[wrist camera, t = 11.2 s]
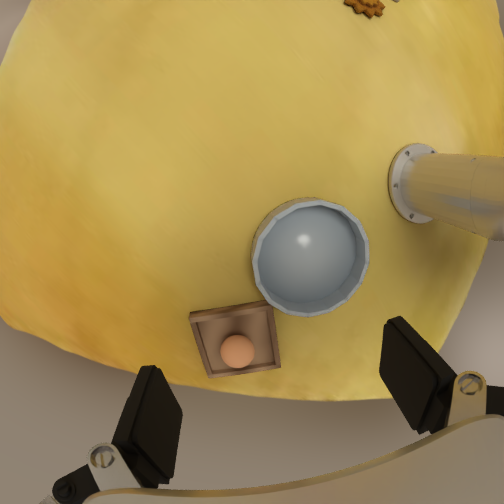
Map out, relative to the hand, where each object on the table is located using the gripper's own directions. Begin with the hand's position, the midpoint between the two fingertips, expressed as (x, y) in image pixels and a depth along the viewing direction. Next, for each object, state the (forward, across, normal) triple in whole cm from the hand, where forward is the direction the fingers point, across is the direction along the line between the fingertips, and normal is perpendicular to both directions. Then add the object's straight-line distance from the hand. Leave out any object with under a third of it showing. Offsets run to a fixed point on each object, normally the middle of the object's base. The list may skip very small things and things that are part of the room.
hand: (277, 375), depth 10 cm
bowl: (+28, -7, +5) cm, 29 cm away
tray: (+28, +5, +17) cm, 33 cm away
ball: (+27, +5, +17) cm, 32 cm away
